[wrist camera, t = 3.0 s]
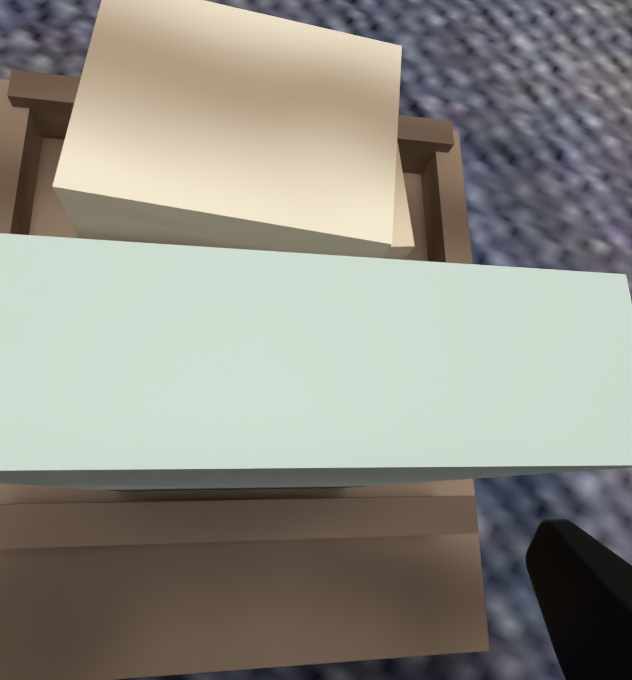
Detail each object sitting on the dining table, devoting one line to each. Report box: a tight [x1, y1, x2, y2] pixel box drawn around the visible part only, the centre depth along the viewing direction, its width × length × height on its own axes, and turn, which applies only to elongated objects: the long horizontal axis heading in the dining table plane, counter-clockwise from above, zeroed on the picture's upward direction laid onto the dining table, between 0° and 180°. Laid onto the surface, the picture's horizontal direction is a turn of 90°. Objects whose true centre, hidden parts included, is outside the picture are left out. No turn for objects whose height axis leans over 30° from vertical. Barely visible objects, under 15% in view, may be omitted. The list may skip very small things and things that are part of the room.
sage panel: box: [0, 233, 632, 491], centre depth 11 cm, size 2×7×13 cm, turn 91°
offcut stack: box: [52, 0, 415, 260], centre depth 16 cm, size 7×9×7 cm
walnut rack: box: [0, 70, 490, 680], centre depth 17 cm, size 18×16×4 cm
